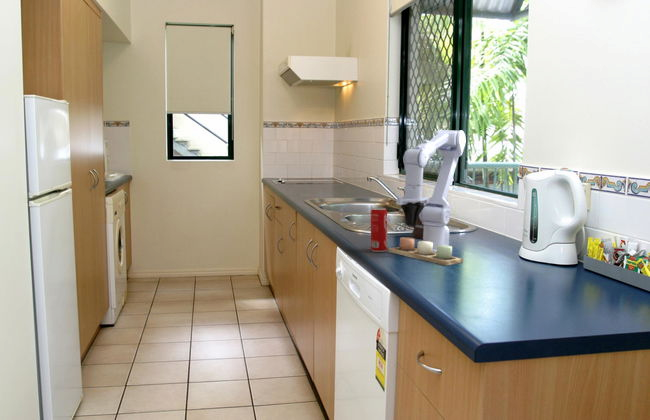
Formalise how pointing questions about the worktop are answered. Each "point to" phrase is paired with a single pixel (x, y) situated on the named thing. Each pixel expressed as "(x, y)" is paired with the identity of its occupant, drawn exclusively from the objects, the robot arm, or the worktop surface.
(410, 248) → the button terracotta
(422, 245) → the button cream
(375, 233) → the beverage can
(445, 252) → the button sage
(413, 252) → the wooden board
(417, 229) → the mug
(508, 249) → the worktop surface
